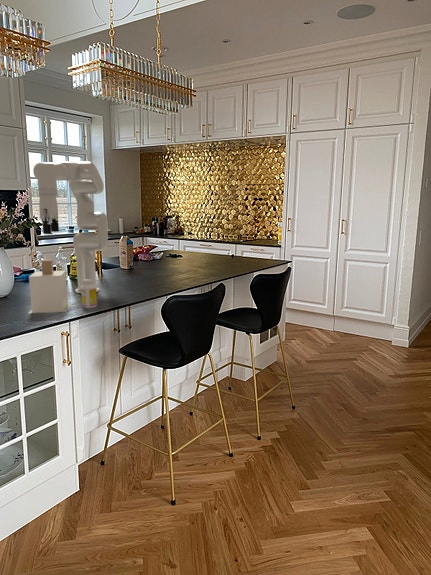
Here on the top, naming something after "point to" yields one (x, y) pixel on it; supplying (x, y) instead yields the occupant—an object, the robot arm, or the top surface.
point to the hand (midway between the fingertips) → (51, 232)
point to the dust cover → (48, 289)
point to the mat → (52, 312)
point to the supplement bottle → (88, 294)
